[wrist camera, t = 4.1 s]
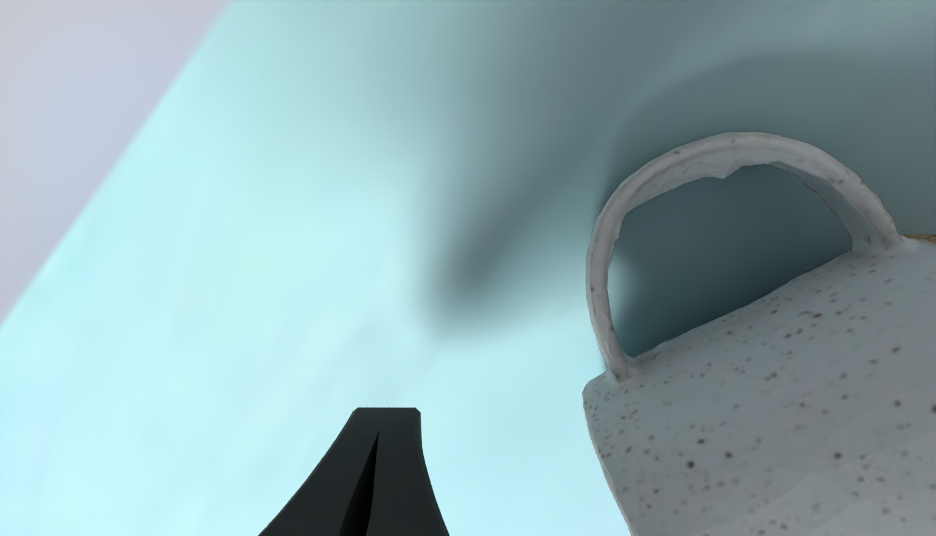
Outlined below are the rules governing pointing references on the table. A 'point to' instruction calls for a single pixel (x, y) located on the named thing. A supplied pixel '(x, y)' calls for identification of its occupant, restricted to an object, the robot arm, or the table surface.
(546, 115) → the table surface
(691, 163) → the ceramic mug
